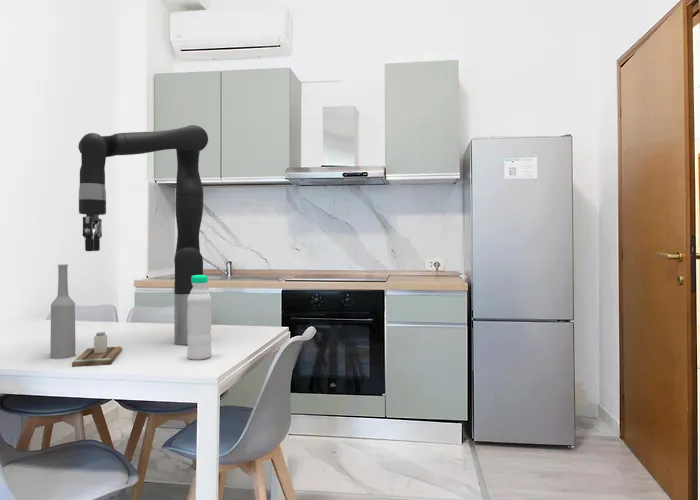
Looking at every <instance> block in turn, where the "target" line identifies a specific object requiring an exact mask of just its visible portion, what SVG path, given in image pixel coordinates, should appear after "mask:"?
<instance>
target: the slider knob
mask: <svg viewBox="0 0 700 500" xmlns="http://www.w3.org/2000/svg"><path fill="white" fill-rule="evenodd" d="M95 333H96V334H95V335H94V337H93V342H94V343H93V345H94V346H93V348H94V353H105V352H106V351H107V347H108V334H106V332H105V331H104V332H103V331H102V332H100V331H99V332H95Z"/></svg>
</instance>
